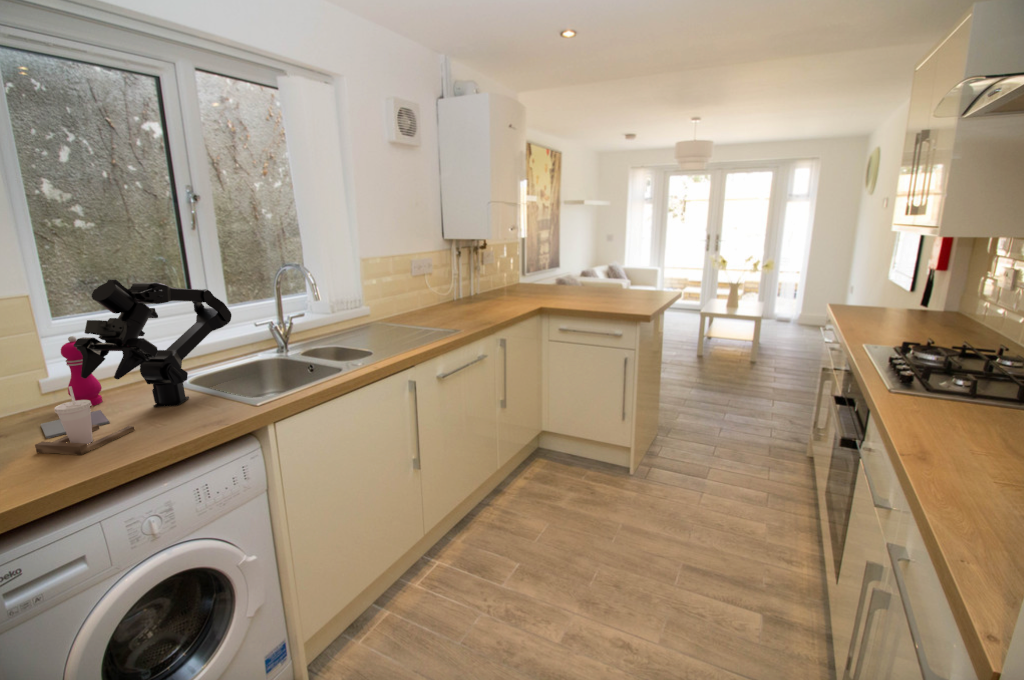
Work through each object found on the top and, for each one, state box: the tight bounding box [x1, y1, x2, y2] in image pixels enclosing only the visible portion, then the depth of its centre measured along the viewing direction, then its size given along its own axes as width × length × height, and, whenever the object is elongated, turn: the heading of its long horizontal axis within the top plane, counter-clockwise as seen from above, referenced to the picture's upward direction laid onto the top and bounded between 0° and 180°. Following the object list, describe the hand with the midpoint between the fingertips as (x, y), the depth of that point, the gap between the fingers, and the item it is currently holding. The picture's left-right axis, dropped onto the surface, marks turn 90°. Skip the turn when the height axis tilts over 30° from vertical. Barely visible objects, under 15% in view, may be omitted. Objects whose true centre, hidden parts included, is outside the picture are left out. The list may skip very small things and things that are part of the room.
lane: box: [34, 425, 135, 456], centre depth 115 cm, size 13×12×2 cm
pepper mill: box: [60, 335, 103, 407], centre depth 138 cm, size 7×7×20 cm
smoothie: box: [54, 386, 94, 444], centre depth 112 cm, size 6×6×14 cm
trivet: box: [40, 409, 110, 440], centre depth 125 cm, size 12×12×1 cm
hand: (99, 378), depth 118 cm, fingers open, 9 cm apart
